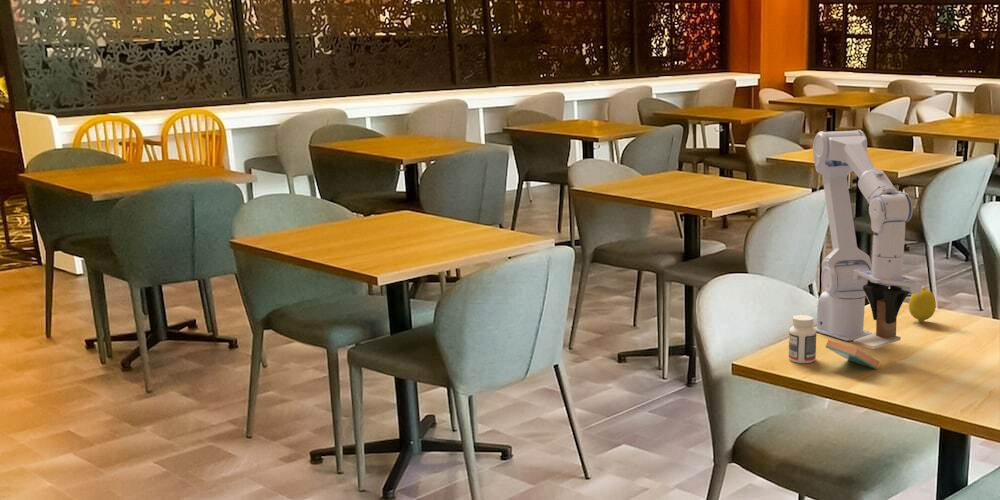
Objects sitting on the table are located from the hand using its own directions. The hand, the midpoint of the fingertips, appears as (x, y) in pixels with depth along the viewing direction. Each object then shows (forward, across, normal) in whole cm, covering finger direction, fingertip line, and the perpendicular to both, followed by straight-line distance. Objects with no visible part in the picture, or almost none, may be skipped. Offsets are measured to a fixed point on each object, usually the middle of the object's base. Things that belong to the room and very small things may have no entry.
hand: (884, 320), depth 206 cm
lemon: (+8, -11, +27) cm, 30 cm away
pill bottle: (+8, -9, -13) cm, 18 cm away
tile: (+7, 0, -6) cm, 9 cm away
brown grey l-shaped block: (+4, 0, -2) cm, 4 cm away
